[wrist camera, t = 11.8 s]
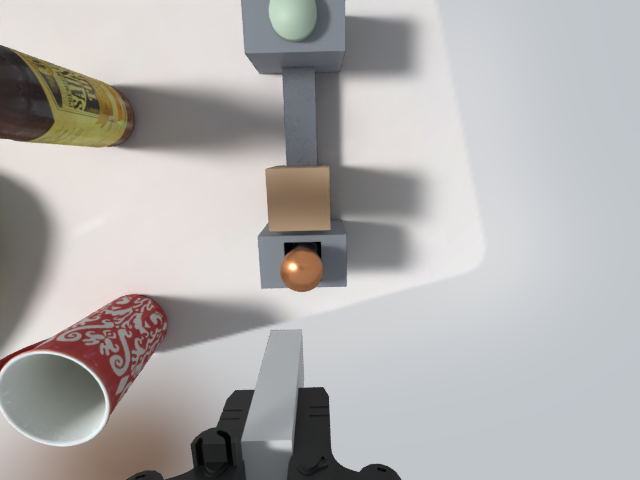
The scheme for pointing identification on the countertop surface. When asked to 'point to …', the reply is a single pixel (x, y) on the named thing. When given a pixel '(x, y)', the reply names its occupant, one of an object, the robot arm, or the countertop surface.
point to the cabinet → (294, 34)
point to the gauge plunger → (302, 267)
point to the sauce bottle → (58, 105)
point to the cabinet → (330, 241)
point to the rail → (300, 115)
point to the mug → (80, 372)
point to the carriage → (298, 198)
